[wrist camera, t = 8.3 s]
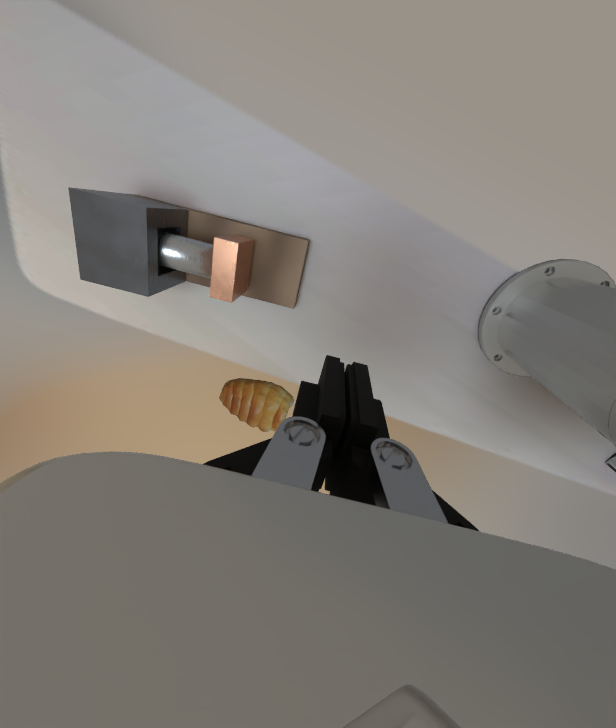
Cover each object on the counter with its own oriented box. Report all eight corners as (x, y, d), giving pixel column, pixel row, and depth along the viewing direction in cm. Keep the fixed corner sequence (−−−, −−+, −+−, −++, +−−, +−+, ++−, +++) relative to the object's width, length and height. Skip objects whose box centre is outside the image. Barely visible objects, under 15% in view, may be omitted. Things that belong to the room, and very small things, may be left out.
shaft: (254, 239, 28) (238, 243, 24) (247, 290, 30) (231, 302, 26) (121, 205, 28) (80, 202, 23) (124, 258, 30) (87, 266, 26)
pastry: (220, 405, 41) (209, 422, 37) (229, 365, 38) (218, 379, 34) (284, 426, 41) (279, 444, 38) (298, 387, 38) (294, 404, 35)
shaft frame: (309, 239, 30) (299, 247, 22) (295, 304, 33) (282, 330, 26) (137, 195, 30) (68, 187, 22) (140, 265, 33) (80, 279, 25)
